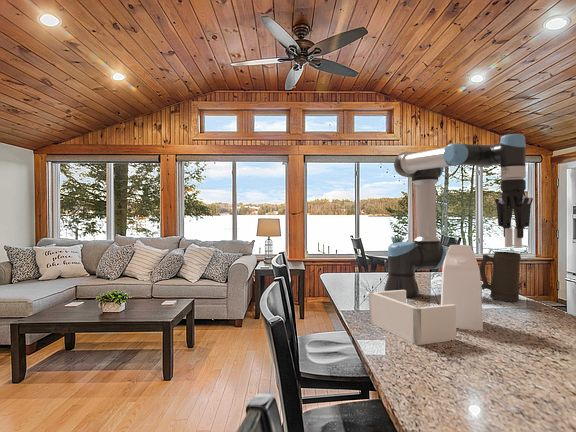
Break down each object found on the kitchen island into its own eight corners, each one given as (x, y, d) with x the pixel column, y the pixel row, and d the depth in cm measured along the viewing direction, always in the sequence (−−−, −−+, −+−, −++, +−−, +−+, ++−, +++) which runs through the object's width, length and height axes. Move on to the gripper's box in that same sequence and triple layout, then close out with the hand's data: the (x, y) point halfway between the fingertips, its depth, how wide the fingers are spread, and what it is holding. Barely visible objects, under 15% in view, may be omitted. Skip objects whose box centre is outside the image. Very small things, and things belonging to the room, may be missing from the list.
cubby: (369, 322, 133) (369, 292, 133) (403, 318, 137) (403, 289, 137) (416, 345, 109) (416, 309, 109) (456, 339, 113) (456, 305, 113)
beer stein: (513, 297, 171) (513, 250, 171) (525, 302, 160) (525, 253, 160) (476, 296, 172) (476, 250, 172) (486, 302, 162) (486, 253, 161)
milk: (478, 321, 133) (477, 244, 133) (483, 331, 122) (482, 246, 122) (440, 318, 137) (439, 243, 137) (441, 327, 126) (440, 246, 126)
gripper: (486, 181, 143) (486, 245, 143) (525, 177, 128) (525, 249, 128) (501, 181, 146) (502, 245, 146) (542, 177, 130) (542, 248, 130)
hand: (513, 247), depth 137 cm, fingers open, 3 cm apart
